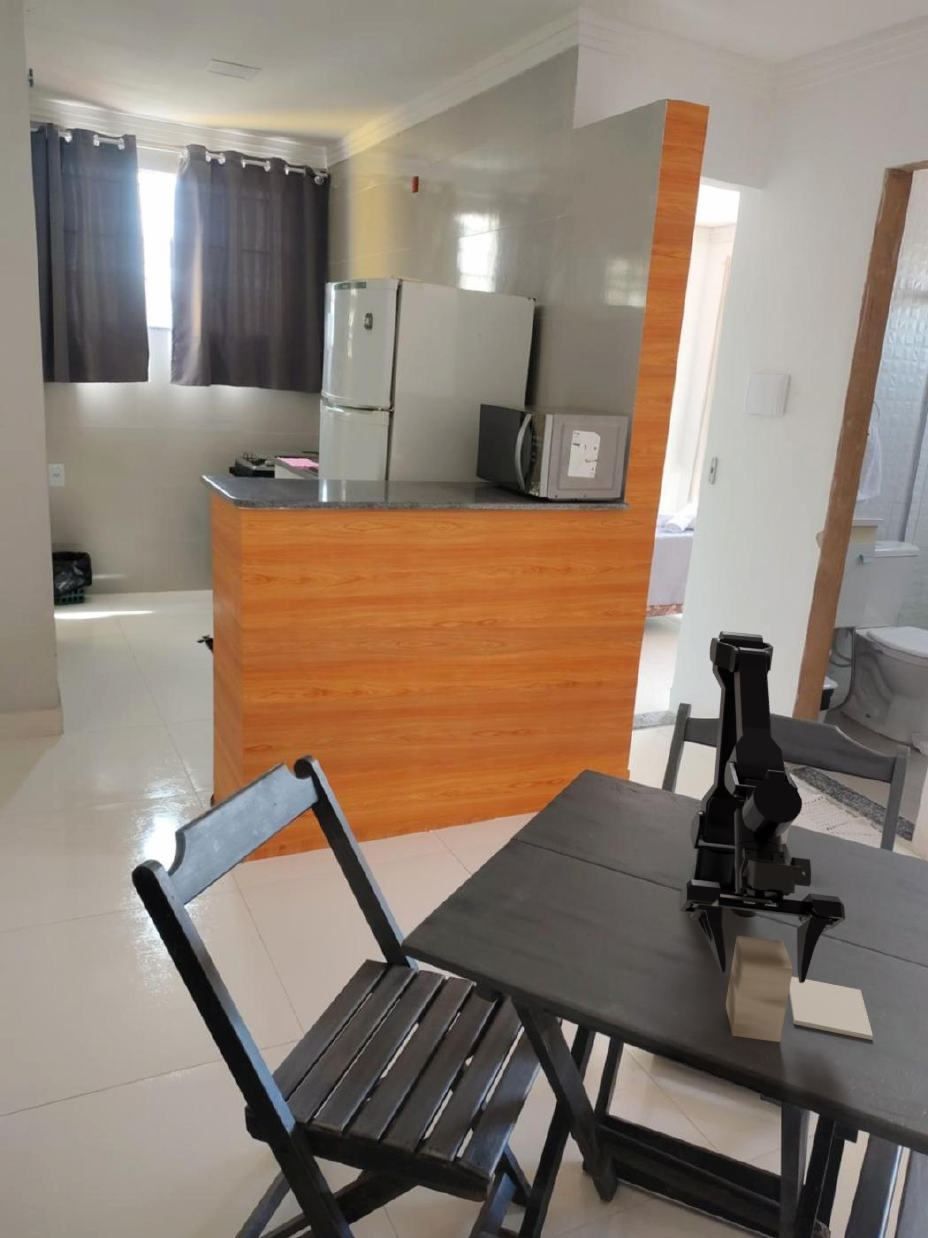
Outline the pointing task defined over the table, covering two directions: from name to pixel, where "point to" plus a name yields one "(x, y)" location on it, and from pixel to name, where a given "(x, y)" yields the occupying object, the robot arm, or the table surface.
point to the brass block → (758, 988)
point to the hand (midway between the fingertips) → (762, 977)
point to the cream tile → (829, 1008)
